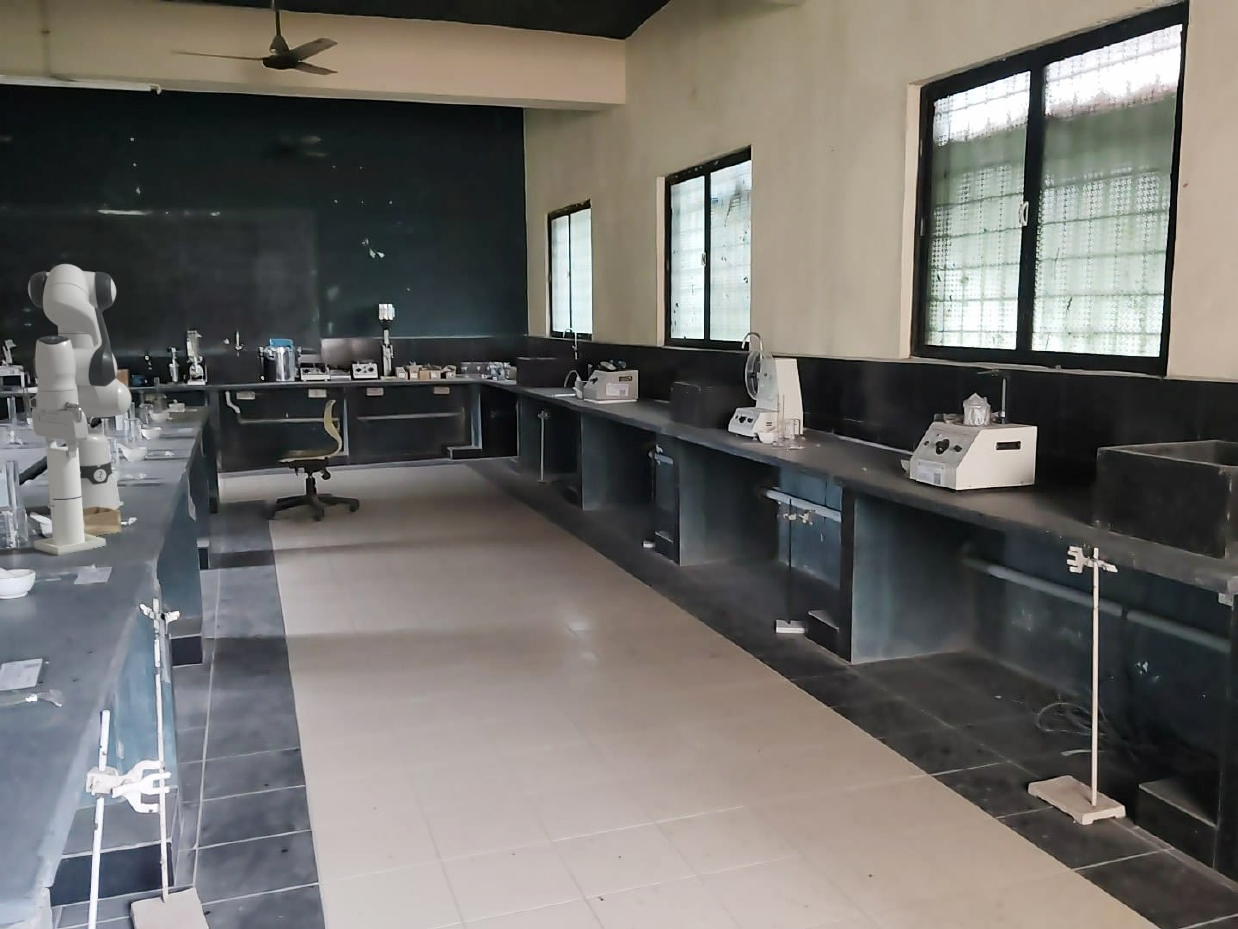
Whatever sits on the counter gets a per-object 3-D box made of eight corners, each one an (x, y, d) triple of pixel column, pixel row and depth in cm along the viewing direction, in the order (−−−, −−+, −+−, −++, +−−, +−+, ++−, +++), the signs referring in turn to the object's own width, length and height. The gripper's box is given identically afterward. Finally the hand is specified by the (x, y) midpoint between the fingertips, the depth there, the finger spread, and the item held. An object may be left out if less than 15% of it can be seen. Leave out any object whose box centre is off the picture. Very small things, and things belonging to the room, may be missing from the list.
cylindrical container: (71, 549, 256) (64, 451, 252) (46, 547, 257) (39, 450, 253) (91, 542, 263) (84, 447, 259) (66, 541, 264) (59, 446, 260)
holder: (62, 533, 275) (60, 512, 274) (101, 526, 284) (99, 505, 283) (83, 539, 269) (81, 517, 268) (121, 531, 278) (120, 510, 277)
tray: (34, 548, 259) (34, 541, 258) (81, 539, 268) (81, 532, 268) (58, 555, 252) (57, 547, 252) (106, 546, 262) (105, 538, 261)
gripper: (92, 403, 251) (97, 458, 253) (51, 398, 262) (55, 451, 265) (67, 405, 246) (71, 461, 248) (25, 400, 257) (30, 454, 260)
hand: (62, 456), depth 256 cm, fingers closed on cylindrical container, 7 cm apart
